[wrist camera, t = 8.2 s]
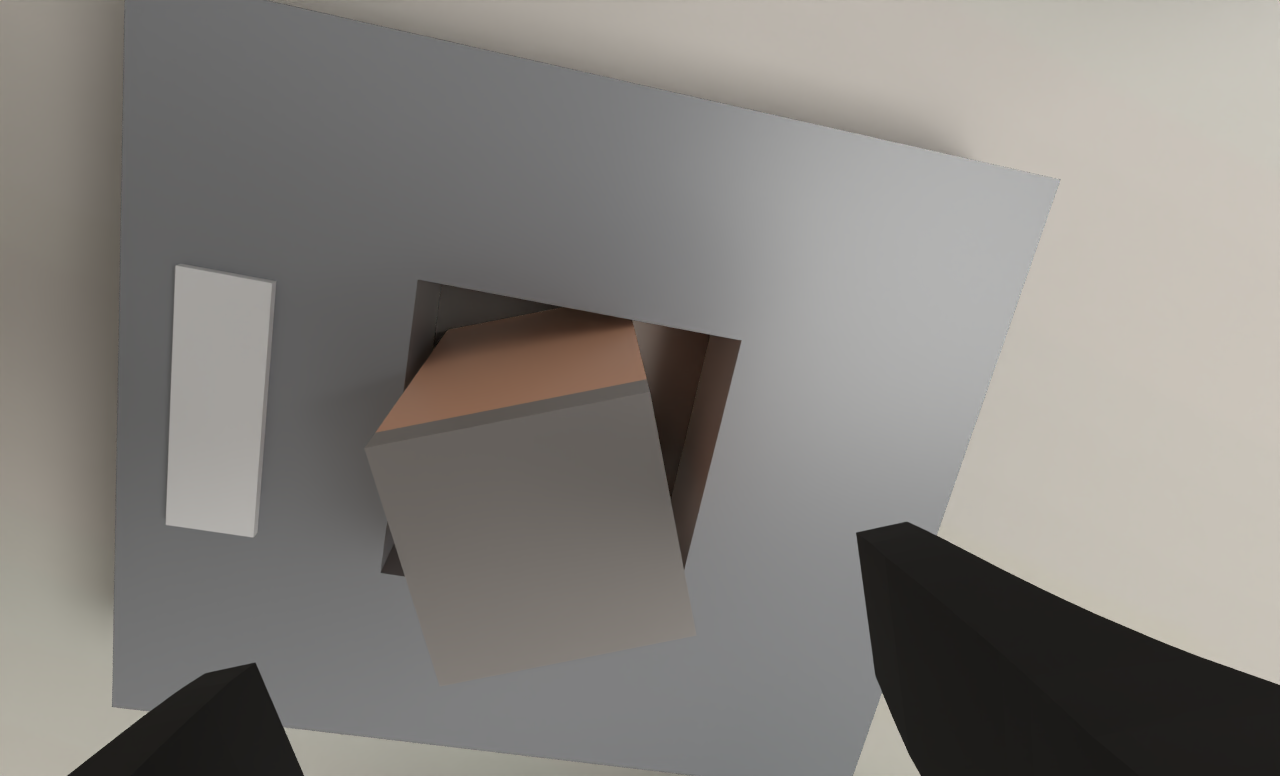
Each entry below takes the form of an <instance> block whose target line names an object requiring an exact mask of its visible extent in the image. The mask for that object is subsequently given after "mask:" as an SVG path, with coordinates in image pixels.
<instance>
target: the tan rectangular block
mask: <svg viewBox="0 0 1280 776" xmlns="http://www.w3.org/2000/svg"><path fill="white" fill-rule="evenodd" d="M364 449H365V452H366V455H367V458H368V461H369V465H370V468H371V471H372V474H373V477H374V480H375V484H376V487H377V490H378V493H379V496H380V499H381V502H382V506H383V509H384V512H385V515H386V518H387V521H388V525H389V528H390V531H391V534H392V537H393V540H394V544H395V547H396V550H397V553H398V556H399V559H400V562H401V566H402V569H403V572H404V575H405V578H406V581H407V585H408V588H409V591H410V594H411V597H412V600H413V603H414V607H415V610H416V613H417V616H418V619H419V622H420V626H421V629H422V632H423V635H424V638H425V641H426V644H427V648H428V651H429V654H430V657H431V660H432V663H433V667H434V670H435V673H436V676H437V679H438V682H439V686H445V685H450V684H455V683H460V682H465V681H470V680H475V679H480V678H485V677H490V676H495V675H501V674H506V673H511V672H516V671H521V670H526V669H531V668H536V667H541V666H546V665H551V664H556V663H561V662H566V661H571V660H576V659H581V658H586V657H591V656H596V655H601V654H606V653H611V652H616V651H621V650H626V649H631V648H636V647H641V646H646V645H651V644H656V643H661V642H666V641H672V640H677V639H682V638H687V637H692V636H697V635H696V630H695V624H694V619H693V614H692V609H691V604H690V598H689V593H688V588H687V583H686V577H685V572H684V567H683V562H682V557H681V551H680V546H679V541H678V536H677V530H676V525H675V520H674V515H673V509H672V504H671V499H670V494H669V489H668V483H667V478H666V473H665V468H664V462H663V457H662V452H661V447H660V442H659V436H658V431H657V426H656V421H655V415H654V410H653V405H652V400H651V395H650V390H649V386H648V382H647V378H646V374H645V370H644V366H643V362H642V358H641V354H640V350H639V346H638V342H637V338H636V334H635V330H634V326H633V322H632V320H630V319H625V318H619V317H614V316H609V315H604V314H598V313H593V312H588V311H582V310H577V309H572V308H566V307H561V308H556V309H551V310H546V311H541V312H536V313H531V314H526V315H520V316H515V317H510V318H505V319H500V320H495V321H490V322H485V323H480V324H475V325H470V326H464V327H459V328H454V329H449V330H447V331H446V333H445V334H444V336H443V337H442V339H441V340H440V341H439V343H438V344H437V346H436V347H435V348H434V350H433V351H432V353H431V354H430V356H429V357H428V358H427V360H426V361H425V363H424V364H423V366H422V367H421V368H420V370H419V371H418V373H417V374H416V375H415V377H414V378H413V380H412V381H411V383H410V384H409V385H408V387H407V388H406V390H405V391H404V393H403V394H402V395H401V397H400V398H399V400H398V401H397V402H396V404H395V405H394V407H393V408H392V410H391V411H390V412H389V414H388V415H387V417H386V418H385V420H384V421H383V422H382V424H381V425H380V427H379V428H378V429H377V431H376V432H375V434H374V435H373V437H372V438H371V439H370V441H369V442H368V444H367V445H366V447H365V448H364Z"/></svg>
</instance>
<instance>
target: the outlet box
mask: <svg viewBox="0 0 1280 776" xmlns="http://www.w3.org/2000/svg"><path fill="white" fill-rule="evenodd" d="M1060 180H1061V179H1056V178H1052V177H1047V176H1043V175H1038V174H1034V173H1030V172H1025V171H1021V170H1016V169H1012V168H1007V167H1003V166H999V165H994V164H990V163H985V162H981V161H976V160H972V159H968V158H963V157H959V156H954V155H950V154H945V153H941V152H937V151H932V150H928V149H923V148H919V147H914V146H910V145H906V144H901V143H897V142H892V141H888V140H883V139H879V138H875V137H870V136H866V135H861V134H857V133H852V132H848V131H844V130H839V129H835V128H830V127H826V126H821V125H817V124H812V123H808V122H804V121H799V120H795V119H790V118H786V117H781V116H777V115H773V114H768V113H764V112H759V111H755V110H750V109H746V108H742V107H737V106H733V105H728V104H724V103H719V102H715V101H711V100H706V99H702V98H697V97H693V96H688V95H684V94H680V93H675V92H671V91H666V90H662V89H657V88H653V87H649V86H644V85H640V84H635V83H631V82H626V81H622V80H618V79H613V78H609V77H604V76H600V75H595V74H591V73H587V72H582V71H578V70H573V69H569V68H564V67H560V66H556V65H551V64H547V63H542V62H538V61H533V60H529V59H524V58H520V57H516V56H511V55H507V54H502V53H498V52H493V51H489V50H485V49H480V48H476V47H471V46H467V45H462V44H458V43H454V42H449V41H445V40H440V39H436V38H431V37H427V36H423V35H418V34H414V33H409V32H405V31H400V30H396V29H392V28H387V27H383V26H378V25H374V24H369V23H365V22H361V21H356V20H352V19H347V18H343V17H338V16H334V15H330V14H325V13H321V12H316V11H312V10H307V9H303V8H299V7H294V6H290V5H285V4H281V3H276V2H272V1H267V0H125V14H124V70H123V126H122V182H121V239H120V295H119V351H118V407H117V463H116V519H115V575H114V631H113V687H112V707H117V708H125V709H134V710H142V711H151V710H152V709H154V708H155V707H156V706H158V705H159V704H160V703H162V702H163V701H165V700H166V699H167V698H169V697H170V696H171V695H173V694H174V693H176V692H177V691H179V690H180V689H181V688H183V687H184V686H186V685H187V684H189V683H190V682H192V681H194V680H195V679H197V678H198V677H200V676H202V675H203V674H205V673H208V672H213V671H218V670H222V669H227V668H232V667H236V666H241V665H245V664H250V663H255V662H256V665H257V667H258V669H259V672H260V674H261V676H262V679H263V681H264V683H265V686H266V688H267V690H268V693H269V695H270V697H271V700H272V702H273V704H274V707H275V709H276V711H277V714H278V716H279V718H280V721H281V723H282V726H283V727H286V728H295V729H303V730H312V731H320V732H329V733H337V734H346V735H354V736H363V737H371V738H379V739H388V740H396V741H405V742H413V743H422V744H430V745H439V746H447V747H456V748H464V749H473V750H481V751H490V752H498V753H507V754H515V755H524V756H532V757H541V758H549V759H558V760H566V761H575V762H583V763H592V764H600V765H608V766H617V767H625V768H634V769H642V770H651V771H659V772H668V773H676V774H685V775H693V776H853V774H854V771H855V768H856V765H857V762H858V760H859V757H860V754H861V751H862V748H863V745H864V742H865V740H866V737H867V734H868V731H869V728H870V725H871V722H872V719H873V717H874V714H875V711H876V708H877V705H878V702H879V699H880V696H881V694H882V691H881V688H880V686H879V684H878V681H877V679H876V676H875V670H874V663H873V655H872V648H871V640H870V633H869V625H868V618H867V611H866V603H865V596H864V588H863V581H862V574H861V566H860V559H859V551H858V544H857V536H856V532H861V531H865V530H870V529H875V528H879V527H884V526H888V525H893V524H898V523H902V522H909V523H912V524H914V525H916V526H918V527H920V528H922V529H924V530H927V531H929V532H930V533H932V534H934V535H936V536H937V533H938V530H939V527H940V524H941V521H942V519H943V516H944V513H945V510H946V507H947V504H948V501H949V498H950V496H951V493H952V490H953V487H954V484H955V481H956V478H957V475H958V473H959V470H960V467H961V464H962V461H963V458H964V455H965V453H966V450H967V447H968V444H969V441H970V438H971V435H972V432H973V430H974V427H975V424H976V421H977V418H978V415H979V412H980V409H981V407H982V404H983V401H984V398H985V395H986V392H987V389H988V387H989V384H990V381H991V378H992V375H993V372H994V369H995V366H996V364H997V361H998V358H999V355H1000V352H1001V349H1002V346H1003V343H1004V341H1005V338H1006V335H1007V332H1008V329H1009V326H1010V323H1011V321H1012V318H1013V315H1014V312H1015V309H1016V306H1017V303H1018V300H1019V298H1020V295H1021V292H1022V289H1023V286H1024V283H1025V280H1026V277H1027V275H1028V272H1029V269H1030V266H1031V263H1032V260H1033V257H1034V255H1035V252H1036V249H1037V246H1038V243H1039V240H1040V237H1041V234H1042V232H1043V229H1044V226H1045V223H1046V220H1047V217H1048V214H1049V211H1050V209H1051V206H1052V203H1053V200H1054V197H1055V194H1056V191H1057V189H1058V186H1059V183H1060ZM441 284H444V285H450V286H455V287H460V288H466V289H471V290H476V291H481V292H487V293H492V294H497V295H503V296H508V297H513V298H519V299H524V300H529V301H535V302H540V303H545V304H550V305H556V306H561V307H566V308H572V309H577V310H582V311H588V312H593V313H598V314H604V315H609V316H614V317H619V318H625V319H630V320H635V321H641V322H646V323H651V324H657V325H662V326H667V327H673V328H678V329H683V330H688V331H694V332H699V333H704V334H710V337H709V341H708V346H707V350H706V354H705V358H704V362H703V367H702V371H701V375H700V379H699V383H698V388H697V392H696V396H695V400H694V404H693V409H692V413H691V417H690V421H689V425H688V430H687V434H686V438H685V442H684V446H683V451H682V455H681V459H680V463H679V467H678V472H677V476H676V480H675V484H674V488H673V493H672V497H671V504H672V509H673V515H674V520H675V525H676V530H677V536H678V541H679V546H680V551H681V557H682V562H683V567H684V572H685V577H686V583H687V588H688V593H689V598H690V604H691V609H692V614H693V619H694V624H695V630H696V635H697V636H692V637H687V638H682V639H677V640H672V641H666V642H661V643H656V644H651V645H646V646H641V647H636V648H631V649H626V650H621V651H616V652H611V653H606V654H601V655H596V656H591V657H586V658H581V659H576V660H571V661H566V662H561V663H556V664H551V665H546V666H541V667H536V668H531V669H526V670H521V671H516V672H511V673H506V674H501V675H495V676H490V677H485V678H480V679H475V680H470V681H465V682H460V683H455V684H450V685H445V686H439V682H438V679H437V676H436V673H435V670H434V667H433V663H432V660H431V657H430V654H429V651H428V648H427V644H426V641H425V638H424V635H423V632H422V629H421V626H420V622H419V619H418V616H417V613H416V610H415V607H414V603H413V600H412V597H411V594H410V591H409V588H408V585H407V581H406V578H405V575H404V572H403V569H402V566H401V562H400V559H399V556H398V553H397V550H396V547H395V544H394V540H393V537H392V534H391V531H390V528H389V525H388V521H387V518H386V515H385V512H384V509H383V506H382V502H381V499H380V496H379V493H378V490H377V487H376V484H375V480H374V477H373V474H372V471H371V468H370V465H369V461H368V458H367V455H366V452H365V449H364V448H365V447H366V445H367V444H368V442H369V441H370V439H371V438H372V437H373V435H374V434H375V432H376V431H377V429H378V428H379V427H380V425H381V424H382V422H383V421H384V420H385V418H386V417H387V415H388V414H389V412H390V411H391V410H392V408H393V407H394V405H395V404H396V402H397V401H398V400H399V398H400V397H401V395H402V394H403V393H404V391H405V390H406V388H407V387H408V385H409V384H410V383H411V381H412V380H413V378H414V377H415V375H416V374H417V373H418V371H419V370H420V368H421V367H422V366H423V364H424V363H425V361H426V360H427V358H428V357H429V356H430V354H431V353H432V351H433V343H434V336H435V329H436V321H437V314H438V307H439V299H440V292H441Z"/></svg>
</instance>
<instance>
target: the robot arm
mask: <svg viewBox="0 0 1280 776" xmlns="http://www.w3.org/2000/svg"><path fill="white" fill-rule="evenodd" d="M856 536H857V544H858V551H859V559H860V566H861V574H862V581H863V588H864V596H865V603H866V611H867V618H868V625H869V633H870V640H871V648H872V655H873V663H874V670H875V676H876V679H877V681H878V684H879V686H880V688H881V691H882V693H883V695H884V698H885V700H886V703H887V705H888V707H889V710H890V712H891V714H892V717H893V719H894V721H895V724H896V726H897V728H898V730H899V733H900V735H901V737H902V740H903V742H904V744H905V746H906V749H907V751H908V753H909V755H910V757H911V759H912V761H913V762H914V764H915V766H916V768H917V769H918V771H919V773H920V775H921V776H1280V685H1278V684H1275V683H1272V682H1270V681H1267V680H1264V679H1261V678H1258V677H1255V676H1253V675H1250V674H1247V673H1244V672H1241V671H1238V670H1235V669H1233V668H1230V667H1227V666H1224V665H1221V664H1218V663H1216V662H1213V661H1210V660H1207V659H1204V658H1201V657H1199V656H1196V655H1194V654H1191V653H1188V652H1186V651H1183V650H1181V649H1178V648H1175V647H1173V646H1170V645H1168V644H1165V643H1163V642H1160V641H1158V640H1155V639H1153V638H1151V637H1148V636H1146V635H1144V634H1141V633H1139V632H1137V631H1134V630H1132V629H1130V628H1127V627H1125V626H1122V625H1120V624H1118V623H1115V622H1113V621H1111V620H1108V619H1106V618H1104V617H1101V616H1099V615H1097V614H1094V613H1092V612H1090V611H1088V610H1086V609H1083V608H1081V607H1079V606H1077V605H1075V604H1072V603H1070V602H1068V601H1066V600H1064V599H1062V598H1060V597H1057V596H1055V595H1053V594H1051V593H1049V592H1047V591H1045V590H1043V589H1041V588H1039V587H1037V586H1035V585H1032V584H1030V583H1028V582H1026V581H1024V580H1022V579H1020V578H1018V577H1016V576H1014V575H1012V574H1010V573H1008V572H1006V571H1004V570H1002V569H1000V568H998V567H996V566H994V565H992V564H991V563H989V562H987V561H985V560H983V559H981V558H979V557H977V556H975V555H973V554H971V553H969V552H967V551H965V550H963V549H962V548H960V547H958V546H956V545H954V544H952V543H950V542H948V541H946V540H944V539H942V538H940V537H938V536H936V535H934V534H932V533H930V532H929V531H927V530H924V529H922V528H920V527H918V526H916V525H914V524H912V523H909V522H902V523H898V524H893V525H888V526H884V527H879V528H875V529H870V530H865V531H861V532H856ZM68 776H304V775H303V772H302V770H301V768H300V765H299V763H298V761H297V758H296V756H295V754H294V751H293V749H292V747H291V744H290V742H289V740H288V737H287V735H286V733H285V730H284V728H283V726H282V723H281V721H280V718H279V716H278V714H277V711H276V709H275V707H274V704H273V702H272V700H271V697H270V695H269V693H268V690H267V688H266V686H265V683H264V681H263V679H262V676H261V674H260V672H259V669H258V667H257V665H256V662H255V663H250V664H245V665H241V666H236V667H232V668H227V669H222V670H218V671H213V672H208V673H205V674H203V675H202V676H200V677H198V678H197V679H195V680H194V681H192V682H190V683H189V684H187V685H186V686H184V687H183V688H181V689H180V690H179V691H177V692H176V693H174V694H173V695H171V696H170V697H169V698H167V699H166V700H165V701H163V702H162V703H160V704H159V705H158V706H156V707H155V708H154V709H152V710H151V711H150V712H148V713H147V714H146V715H144V716H143V717H142V718H141V719H139V720H138V721H137V722H135V723H134V724H133V725H132V726H130V727H129V728H128V729H126V730H125V731H124V732H122V733H121V734H120V735H119V736H117V737H116V738H115V739H114V740H112V741H111V742H110V743H108V744H107V745H106V746H105V747H103V748H102V749H101V750H99V751H98V752H97V753H96V754H94V755H93V756H92V757H91V758H89V759H88V760H87V761H85V762H84V763H83V764H82V765H80V766H79V767H78V768H77V769H75V770H74V771H73V772H71V773H70V774H69V775H68Z"/></svg>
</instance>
